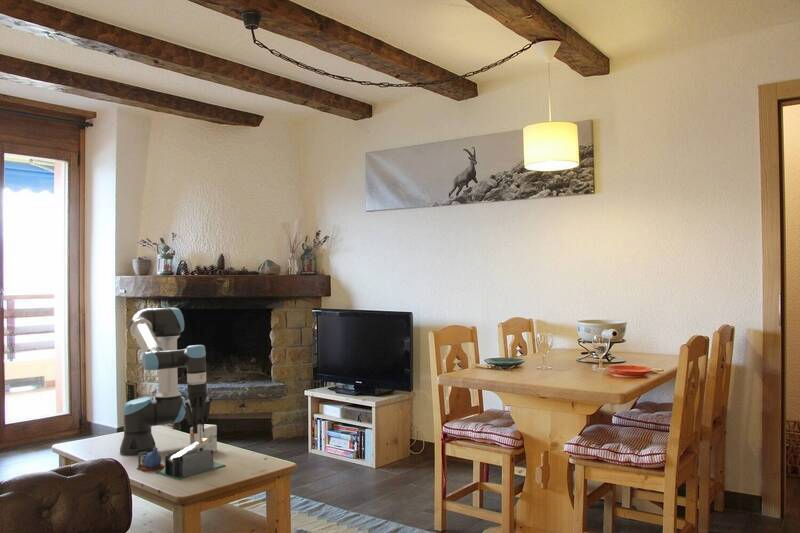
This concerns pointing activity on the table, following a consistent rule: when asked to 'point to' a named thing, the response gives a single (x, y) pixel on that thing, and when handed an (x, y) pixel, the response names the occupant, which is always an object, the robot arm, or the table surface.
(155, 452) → the model
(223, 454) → the table surface
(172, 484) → the table surface
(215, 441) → the ink box
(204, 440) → the white flat bar
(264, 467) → the table surface
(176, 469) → the heatsink base
